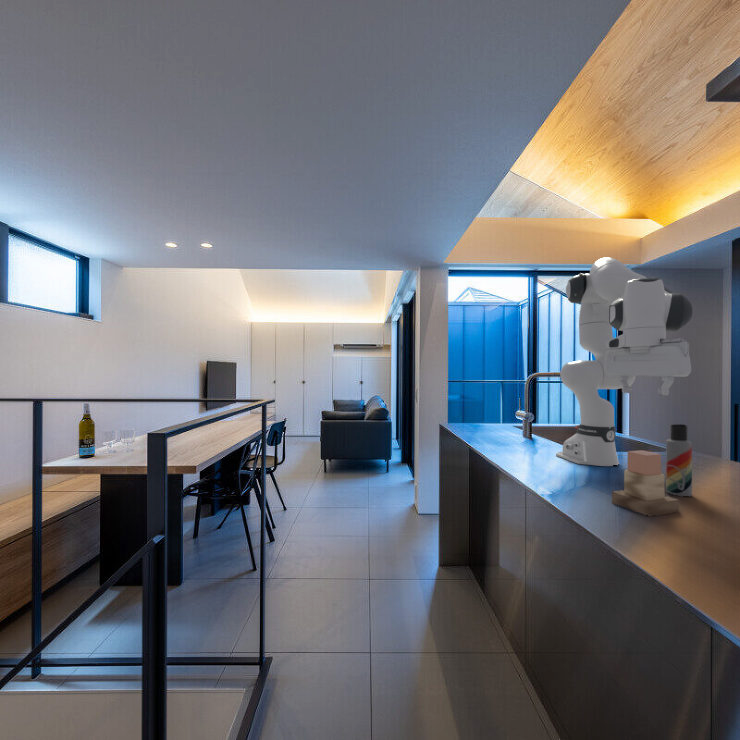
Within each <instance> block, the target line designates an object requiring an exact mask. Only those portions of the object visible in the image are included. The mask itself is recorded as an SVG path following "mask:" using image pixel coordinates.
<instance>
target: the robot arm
mask: <svg viewBox="0 0 740 740" xmlns="http://www.w3.org/2000/svg"><path fill="white" fill-rule="evenodd" d="M664 285H665V284H664V282H663V279H661V278H659V277H648V276H644V275H642V274H639V273H637V272H635V271H633V270H631V269H630V268H628V267H627V266H626V265H625V264H624V263H623V262H621V261H620V260H618V259H617V258H613V257H609V256H608V257H602V258H599V259H598V260H596V261H595V262H593V264H592V265H591V267H590V269H589V273H581V272H580V273H579V274H578V275H574V276H571V277H570V278H569V279H568V281H567V284H566V286H565V295H566V298H567V300H568V301H569V303H572V304H577V305H580V309H579V314H578V315H579V316H578V333H579V335H578V337H579V340H578V341H579V345H580V347H581V348H582V349H583V350H585V351H588V352H589V353H591V354H592V355H593V356H594V359H595V360H574V361H570V362H565V364H564V365H563V366H562V368H561V370H560V374H559V375H560V376H559V377H560V380H561V382H562V384H563V385H564V386H565V387H566V388H568V389H569V390H570V391H571V392H573V394H574V395H575V397H576V399H577V401H578V405H579V412H580V414H579V415H580V423H579V424H578V425H576V424H575V429H576V433H575V434H574V435H572V436H571V437H569V438H567V439H565V441H564V442H563V443H562V449H561V450H562V451H560V452H559V451H558V452H556V454H555V456H556V457H559V458H561V459H564V460H566V461H569V462H571V463H575V464H578V465H587V466H589V465H590V466H599V467H614V466H613V465H617V466H619V465H620V461H619V459H618V454H617V449H616V442H615V439H616V433H617V432H616V426H615V409H614V408H615V407H614V406H613V404H612V403H611V402H610V401H609V400H607V399H605V398H602V397H600V395H599V392H598V390H619V389H621V392H622V393H623V394H632V393H633V386H632V385H633V383H634V382H636V381H635V380H636V377H661V381H662V382H663V384H661V387H657V395H658V396H669V395H670V388H671V387H672V385H673V384H674V382H675V377H681V378H682V377H683V378H684V377H685V378H686V377H688V376H690V374H691V373H692V362H691V357H690V356H691V355H690V344H689V342H688V341H687V340H686V339H683V338H682V337H674V338H667V332H677V331H679V330H680V329H682V328H684V327H685V326H686V325H687V324H688V323H689V322H690V321H691V319H692V316H693V305H692V303H691V301H690V299H689V298H687V297H686V296H685V295H684V294H682V293H675V292H673V291H672V290H669V289H668V288H667V287H666V286H664ZM613 329H614V330H617V331H621V332H623V333H622V334H620V335H617V336H616V337H614V335H613ZM618 464H619V465H618Z"/></svg>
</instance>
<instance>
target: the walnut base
mask: <svg viewBox="0 0 740 740" xmlns="http://www.w3.org/2000/svg"><path fill="white" fill-rule="evenodd" d="M611 503H612V504H614V505H616V506H619V507H623V508H624V509H627V508H628V510H630V509H631V511H633V512H636V513H638V512H639V513H638V514H641V513H642V514H641V515H644V516H646V515H648V516H647V517H649V516H650V517H654V516H653V515H656V516H661V515H660V514H663V515H668V514H667V513H669V514H673V513H672V512H676V513H679V512H680V499H677V498H674V497H671V496H667V495H664V498H661V499H654V500H644V499H641V498H638V497H635V496H632V495H629V494H626V493H624V489H621V490H614V491H611ZM678 511H679V512H678Z"/></svg>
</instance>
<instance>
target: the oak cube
mask: <svg viewBox="0 0 740 740" xmlns="http://www.w3.org/2000/svg"><path fill="white" fill-rule="evenodd" d="M623 472H624V476H623V477H624V479H623V483H624V484H623V486H624V487H623V488H624V489H623V490H624V493H626V494H629V495H632V496H635V497H638V498H641V499H644V500H654V499H661V498H664V496H665V474H664V473H661V474H656V475H647V476H646V475H642V474H639V473H635V472H631V471H628V469H625V470H624V471H623Z"/></svg>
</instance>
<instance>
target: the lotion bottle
mask: <svg viewBox="0 0 740 740" xmlns="http://www.w3.org/2000/svg"><path fill="white" fill-rule="evenodd" d="M688 427H689V425H687V424H681V423H680V424H678V423H676V424H670V432H669V433H670V434H669V437H670V438H668V439H666V440H665V443H666V444H665V445H666V446H665V449H666V450H665V452H666V454H665V456H666V457H665V459H666V460H665V461H666V462H665V464H666V465H665V466H666V467H665V468H666V469H665V470H666V473H665V474H666V475H665V478H666V480H665V481H666V483H665V486H666V488H665V489H666V490H665V491H666V492H667V494H669V493H670V495H672V494H673V496H676V495H678V496H677V497H683V496H689V497H692V493H693V462H692V461H693V443H692V442H691V441H690V440H688V439H689V434H688V431H689V430H688Z"/></svg>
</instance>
